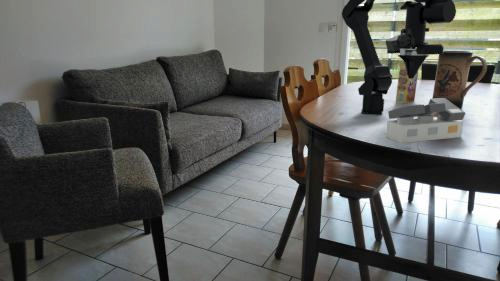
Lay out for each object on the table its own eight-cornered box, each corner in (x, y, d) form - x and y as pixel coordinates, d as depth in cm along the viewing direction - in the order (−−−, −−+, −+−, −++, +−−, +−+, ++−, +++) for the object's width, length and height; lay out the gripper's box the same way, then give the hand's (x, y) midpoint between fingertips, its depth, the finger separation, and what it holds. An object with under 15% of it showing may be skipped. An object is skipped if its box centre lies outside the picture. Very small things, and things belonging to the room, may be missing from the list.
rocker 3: (427, 105, 98) (430, 98, 96) (441, 104, 99) (444, 97, 97) (447, 121, 91) (451, 113, 90) (462, 119, 92) (465, 112, 91)
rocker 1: (389, 118, 95) (388, 110, 95) (403, 117, 96) (402, 109, 96) (409, 113, 87) (408, 105, 87) (425, 112, 88) (424, 104, 88)
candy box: (405, 104, 141) (410, 64, 137) (395, 103, 144) (398, 63, 140) (415, 101, 147) (419, 62, 143) (404, 100, 150) (408, 62, 146)
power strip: (385, 137, 95) (387, 115, 94) (443, 131, 100) (446, 111, 98) (400, 143, 90) (403, 120, 88) (461, 137, 94) (464, 115, 93)
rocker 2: (409, 117, 96) (408, 109, 96) (423, 116, 97) (422, 108, 97) (430, 112, 88) (429, 103, 89) (446, 111, 89) (444, 102, 90)
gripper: (373, 26, 115) (370, 77, 119) (411, 23, 97) (406, 82, 101) (405, 26, 117) (400, 75, 121) (447, 22, 99) (441, 80, 103)
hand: (410, 78), depth 112 cm, fingers closed
